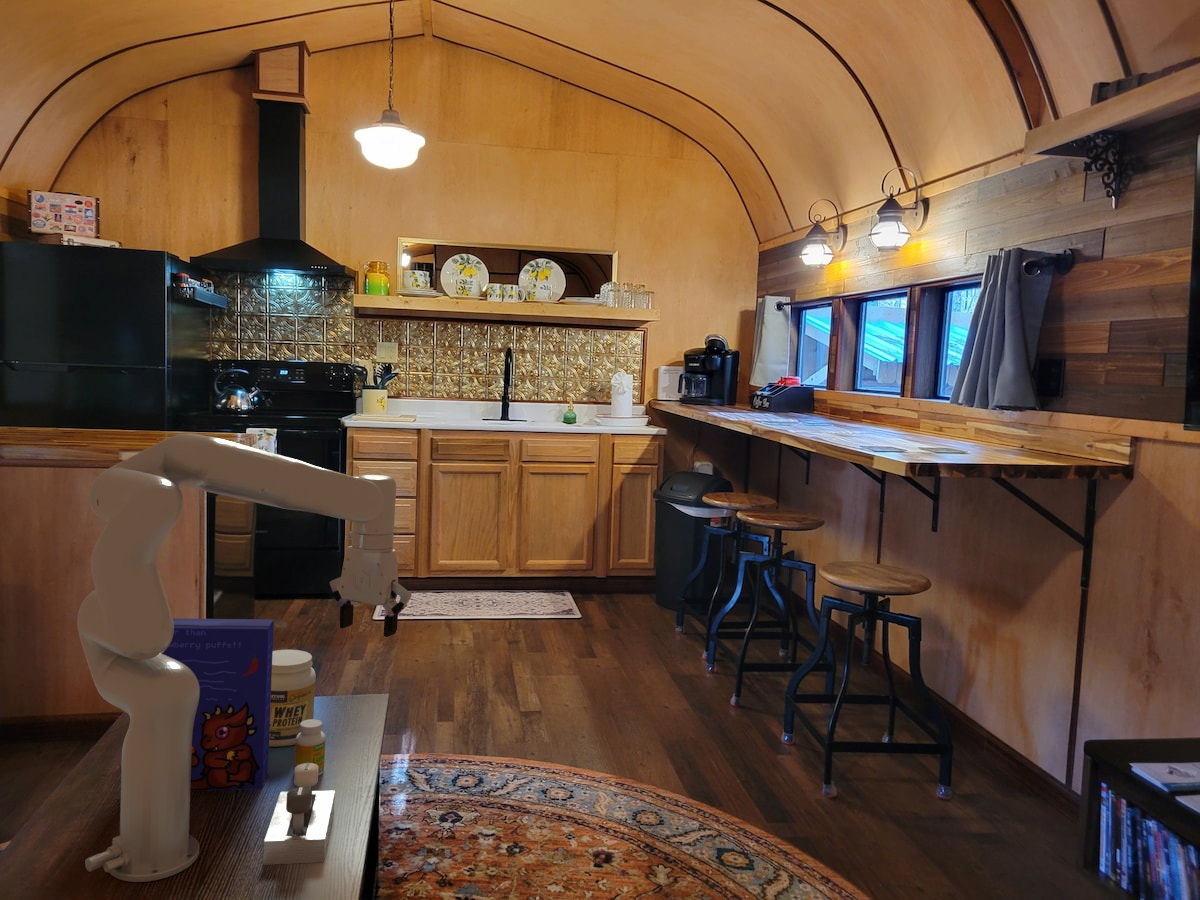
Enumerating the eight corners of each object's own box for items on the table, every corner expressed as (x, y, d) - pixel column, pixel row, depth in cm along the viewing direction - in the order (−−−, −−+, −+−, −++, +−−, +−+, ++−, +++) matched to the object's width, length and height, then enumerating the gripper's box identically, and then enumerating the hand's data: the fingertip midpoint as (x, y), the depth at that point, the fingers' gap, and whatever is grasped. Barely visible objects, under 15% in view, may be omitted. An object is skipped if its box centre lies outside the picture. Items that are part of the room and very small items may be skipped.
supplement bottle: (314, 780, 163) (316, 730, 162) (288, 776, 164) (290, 726, 163) (329, 768, 168) (331, 719, 167) (303, 764, 169) (305, 715, 168)
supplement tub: (255, 752, 173) (258, 669, 171) (246, 729, 183) (249, 650, 182) (319, 743, 179) (322, 662, 177) (306, 721, 189) (309, 645, 188)
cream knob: (315, 809, 146) (317, 772, 146) (291, 810, 145) (293, 772, 145) (318, 798, 150) (319, 762, 149) (294, 799, 149) (296, 762, 148)
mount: (323, 862, 137) (324, 839, 136) (263, 864, 135) (264, 841, 134) (334, 811, 152) (334, 790, 152) (279, 813, 150) (280, 791, 150)
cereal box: (267, 773, 164) (273, 618, 162) (261, 788, 158) (268, 627, 156) (142, 776, 160) (146, 616, 157) (131, 792, 154) (136, 626, 152)
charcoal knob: (308, 837, 137) (310, 797, 137) (283, 838, 137) (285, 798, 136) (311, 825, 141) (313, 786, 141) (287, 826, 140) (288, 787, 140)
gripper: (321, 538, 162) (316, 628, 164) (401, 550, 156) (395, 643, 158) (346, 532, 169) (341, 619, 171) (423, 544, 164) (418, 633, 165)
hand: (367, 630), depth 164 cm, fingers open, 9 cm apart
